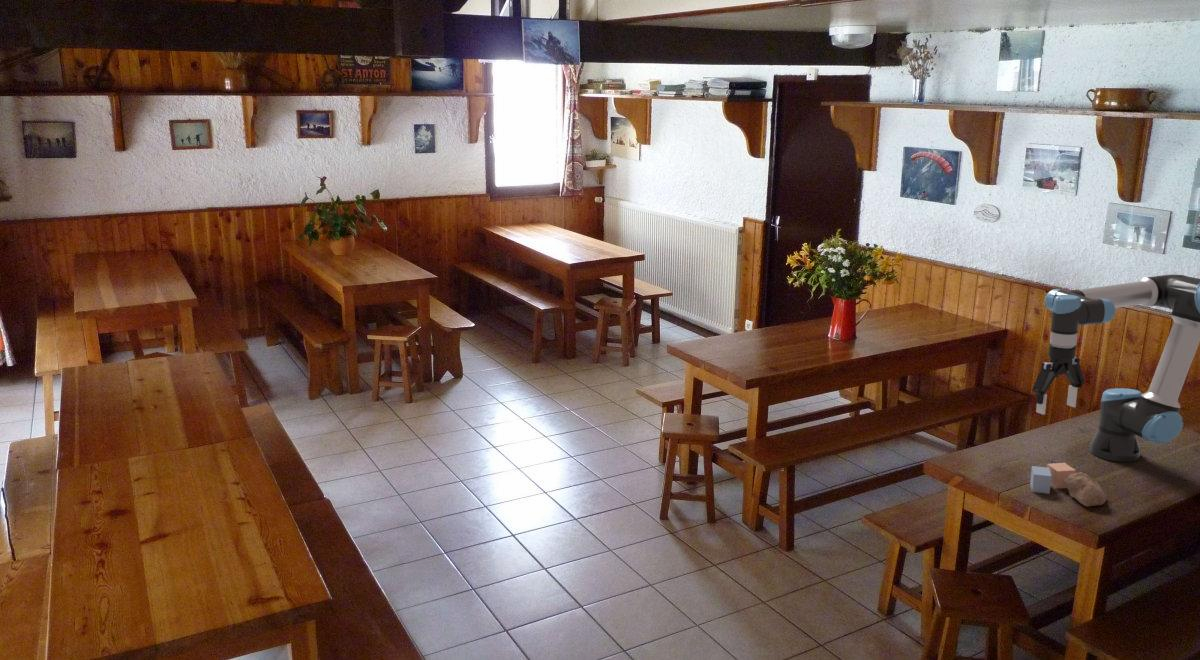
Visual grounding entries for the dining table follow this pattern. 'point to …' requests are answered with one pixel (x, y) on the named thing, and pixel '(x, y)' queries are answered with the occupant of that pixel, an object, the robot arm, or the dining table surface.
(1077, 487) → the stone
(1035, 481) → the slate block
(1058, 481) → the terracotta block
